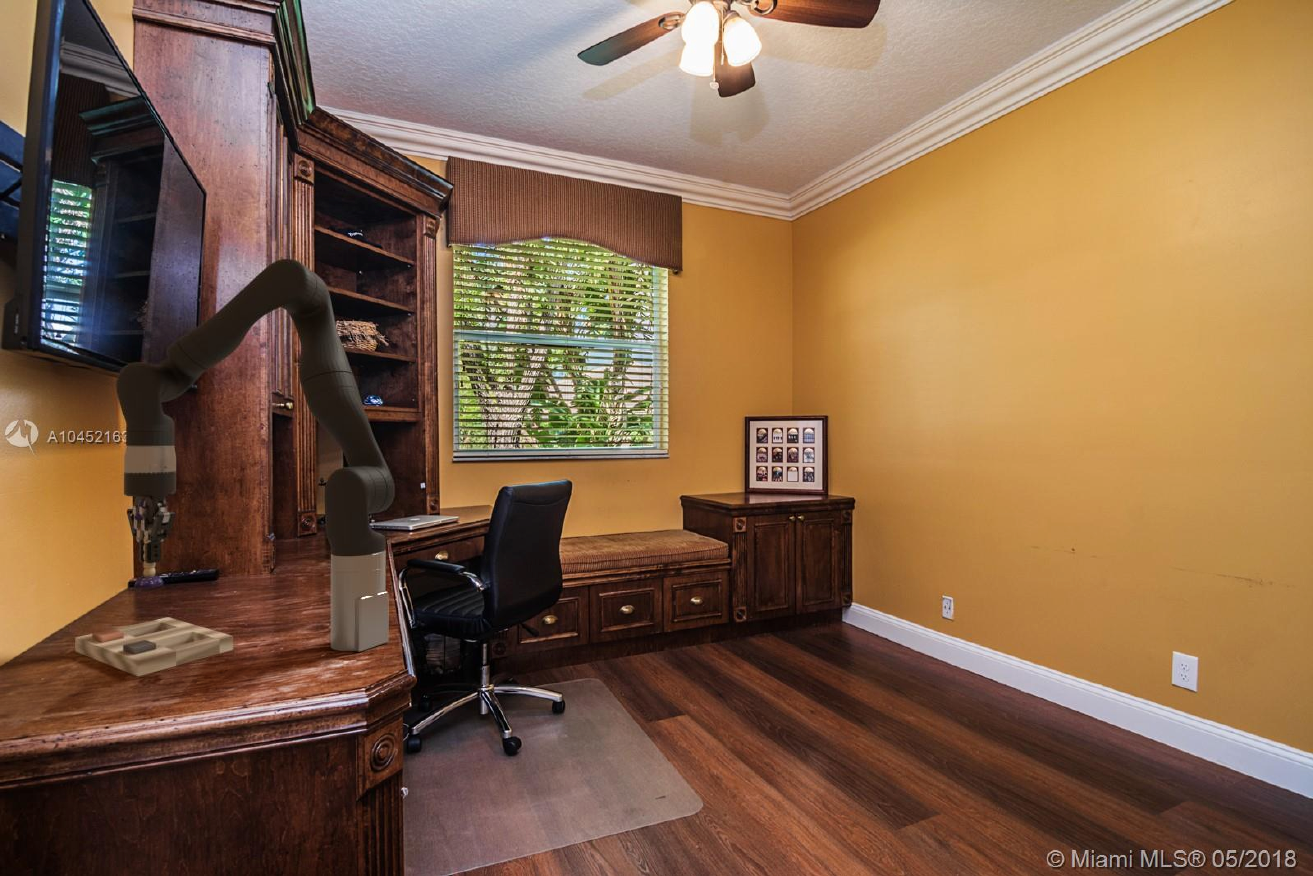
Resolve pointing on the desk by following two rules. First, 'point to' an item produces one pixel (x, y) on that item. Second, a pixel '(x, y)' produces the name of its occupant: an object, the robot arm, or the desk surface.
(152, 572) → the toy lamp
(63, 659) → the desk surface
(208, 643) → the socket board
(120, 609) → the desk surface
